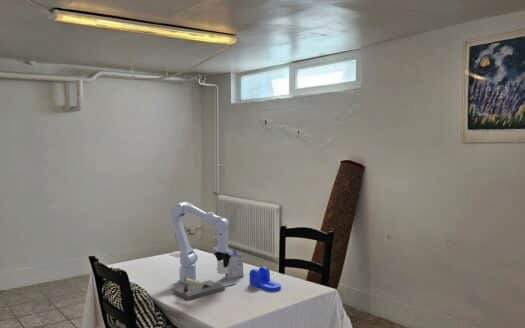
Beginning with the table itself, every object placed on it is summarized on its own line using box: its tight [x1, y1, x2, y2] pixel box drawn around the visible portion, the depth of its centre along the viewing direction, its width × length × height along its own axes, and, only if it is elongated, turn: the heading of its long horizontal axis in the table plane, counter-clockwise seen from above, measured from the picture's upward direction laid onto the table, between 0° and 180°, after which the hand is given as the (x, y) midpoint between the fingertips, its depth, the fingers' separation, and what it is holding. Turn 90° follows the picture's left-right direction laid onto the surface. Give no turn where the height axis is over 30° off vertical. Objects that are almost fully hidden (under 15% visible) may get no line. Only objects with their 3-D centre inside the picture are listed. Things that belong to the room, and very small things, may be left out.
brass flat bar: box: [183, 278, 203, 291], centre depth 233 cm, size 2×14×6 cm, turn 45°
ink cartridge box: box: [224, 249, 244, 279], centre depth 268 cm, size 10×6×14 cm, turn 112°
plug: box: [216, 260, 230, 275], centre depth 254 cm, size 5×7×6 cm
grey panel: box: [173, 279, 226, 301], centre depth 243 cm, size 14×22×2 cm, turn 130°
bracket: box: [249, 265, 282, 292], centre depth 249 cm, size 18×8×9 cm, turn 41°
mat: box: [214, 279, 236, 288], centre depth 254 cm, size 9×9×1 cm
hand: (223, 266), depth 254 cm, fingers closed on plug, 4 cm apart
